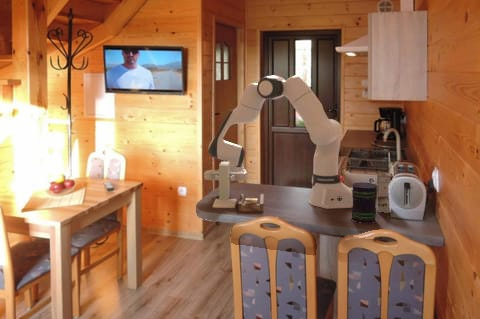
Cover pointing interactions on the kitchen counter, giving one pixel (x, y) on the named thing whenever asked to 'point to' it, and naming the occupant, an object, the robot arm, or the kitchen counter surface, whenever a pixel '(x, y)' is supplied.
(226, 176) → the tall board
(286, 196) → the kitchen counter surface
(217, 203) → the pad
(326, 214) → the kitchen counter surface
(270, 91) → the robot arm
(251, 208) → the offcut rack
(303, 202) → the kitchen counter surface
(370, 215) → the storage jar
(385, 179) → the coffee box
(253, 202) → the offcut stack
